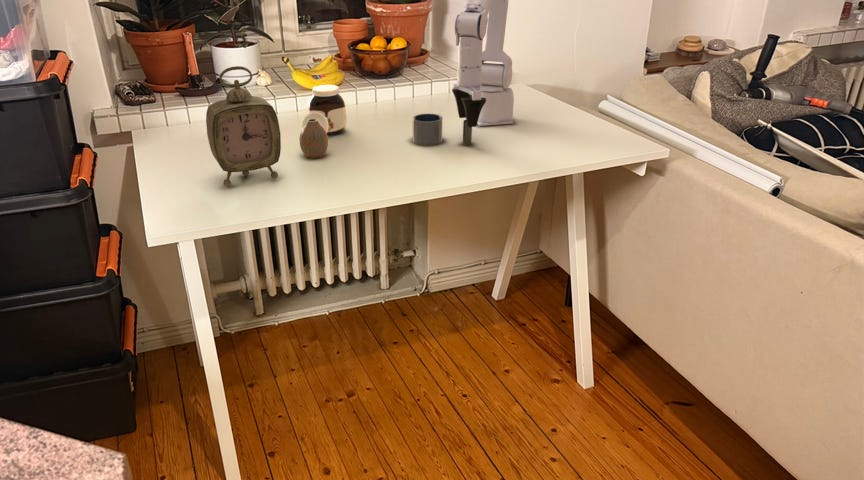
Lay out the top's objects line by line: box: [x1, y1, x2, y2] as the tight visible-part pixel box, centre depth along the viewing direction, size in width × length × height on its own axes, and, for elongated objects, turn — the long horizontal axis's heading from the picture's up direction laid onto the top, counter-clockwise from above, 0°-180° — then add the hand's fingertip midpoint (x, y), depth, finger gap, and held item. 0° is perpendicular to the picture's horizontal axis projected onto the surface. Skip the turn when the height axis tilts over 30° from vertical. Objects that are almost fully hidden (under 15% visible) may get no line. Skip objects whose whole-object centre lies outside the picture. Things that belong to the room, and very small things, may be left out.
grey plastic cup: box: [412, 113, 444, 147], centre depth 176 cm, size 7×7×6 cm
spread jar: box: [301, 84, 347, 137], centre depth 182 cm, size 12×11×12 cm
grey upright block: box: [462, 119, 473, 147], centre depth 173 cm, size 2×2×6 cm
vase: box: [298, 119, 329, 159], centre depth 168 cm, size 7×7×9 cm
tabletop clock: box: [205, 65, 282, 188], centre depth 152 cm, size 14×9×25 cm, turn 114°
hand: (467, 121), depth 172 cm, fingers open, 7 cm apart
